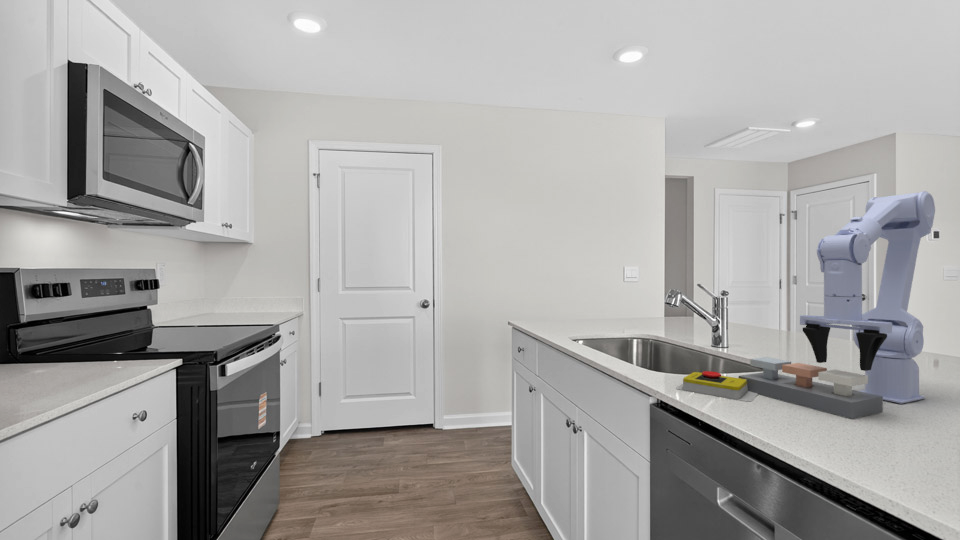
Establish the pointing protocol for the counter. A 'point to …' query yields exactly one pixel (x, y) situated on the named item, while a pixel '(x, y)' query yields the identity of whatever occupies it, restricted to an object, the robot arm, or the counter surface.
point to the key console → (815, 396)
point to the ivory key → (843, 380)
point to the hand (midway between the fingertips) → (842, 366)
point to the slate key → (769, 366)
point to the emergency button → (717, 386)
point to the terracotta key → (803, 373)
